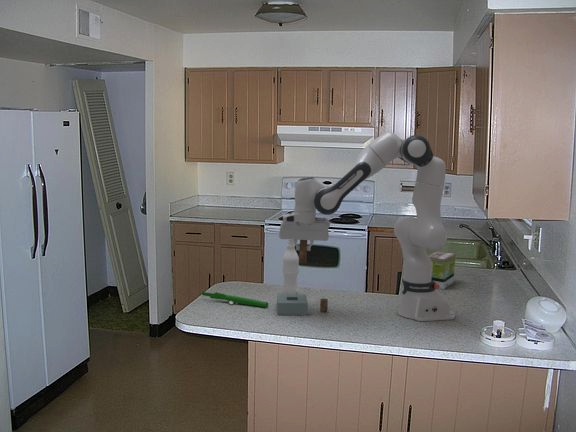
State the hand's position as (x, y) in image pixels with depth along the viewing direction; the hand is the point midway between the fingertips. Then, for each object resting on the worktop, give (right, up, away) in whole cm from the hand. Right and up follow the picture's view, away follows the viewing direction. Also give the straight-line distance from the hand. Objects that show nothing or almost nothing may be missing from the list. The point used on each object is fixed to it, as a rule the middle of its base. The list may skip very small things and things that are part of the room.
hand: (303, 250), depth 248 cm
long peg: (0, -5, +1) cm, 5 cm away
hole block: (-5, -25, 0) cm, 25 cm away
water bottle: (-5, -21, +20) cm, 29 cm away
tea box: (+66, -19, +42) cm, 80 cm away
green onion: (-29, -23, +8) cm, 38 cm away
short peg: (+8, -25, -1) cm, 26 cm away
